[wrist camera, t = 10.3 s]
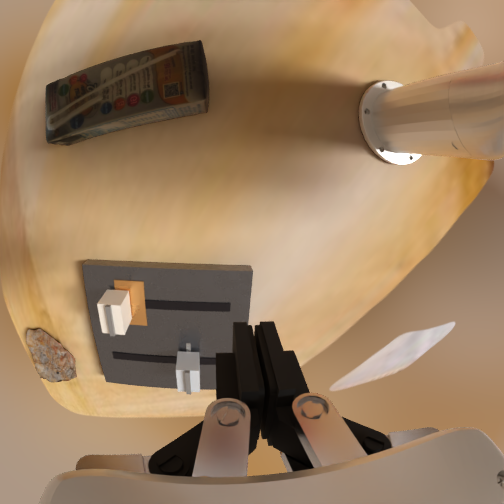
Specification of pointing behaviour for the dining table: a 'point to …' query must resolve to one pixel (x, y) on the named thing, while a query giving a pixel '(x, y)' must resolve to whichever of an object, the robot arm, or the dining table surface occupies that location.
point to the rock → (50, 357)
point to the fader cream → (114, 312)
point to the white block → (188, 372)
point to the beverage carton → (128, 93)
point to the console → (167, 317)
